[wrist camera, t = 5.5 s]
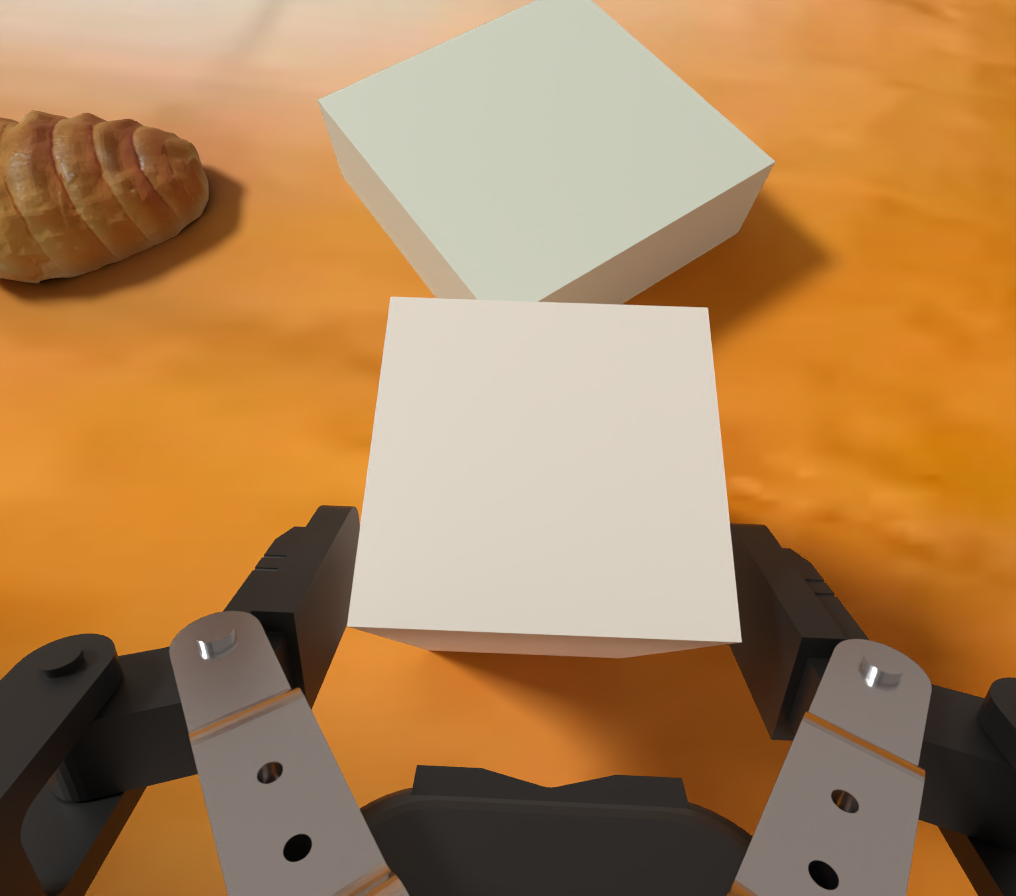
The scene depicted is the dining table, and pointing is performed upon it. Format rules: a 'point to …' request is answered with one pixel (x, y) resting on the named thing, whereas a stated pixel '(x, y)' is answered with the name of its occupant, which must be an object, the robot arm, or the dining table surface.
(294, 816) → the robot arm
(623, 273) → the block
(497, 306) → the tall block
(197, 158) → the pastry
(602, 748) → the dining table surface
